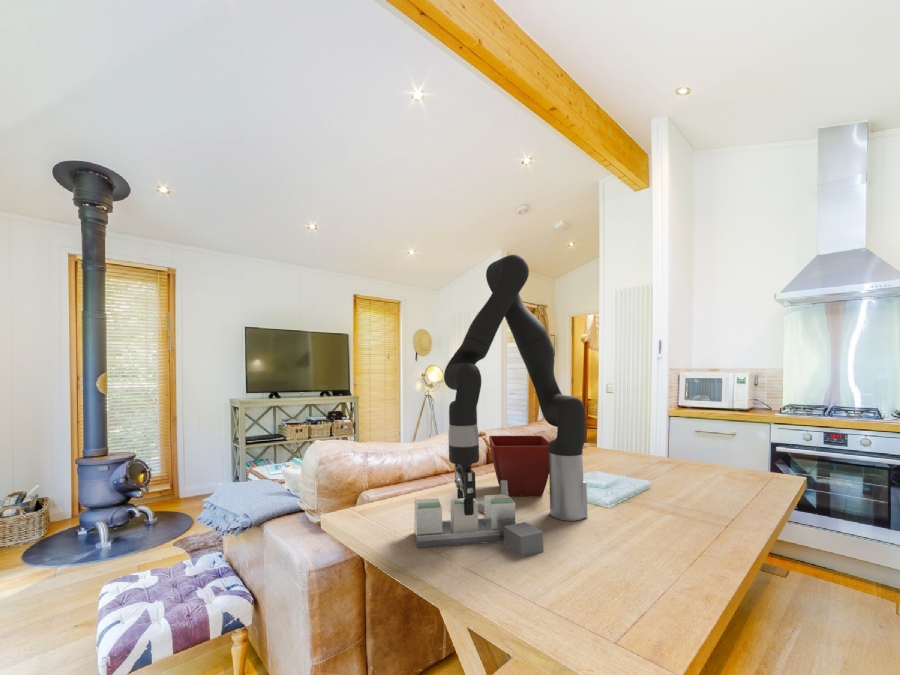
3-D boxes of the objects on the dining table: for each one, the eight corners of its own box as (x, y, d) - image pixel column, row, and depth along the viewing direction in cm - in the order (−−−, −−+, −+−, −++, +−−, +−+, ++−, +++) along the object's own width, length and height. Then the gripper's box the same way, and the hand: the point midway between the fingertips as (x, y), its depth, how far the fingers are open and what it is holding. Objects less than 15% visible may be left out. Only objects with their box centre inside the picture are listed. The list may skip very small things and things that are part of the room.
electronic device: (481, 472, 130) (517, 480, 118) (482, 505, 129) (519, 517, 117) (467, 475, 126) (504, 484, 115) (469, 509, 125) (505, 521, 114)
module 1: (474, 525, 107) (473, 496, 107) (478, 532, 102) (477, 501, 103) (450, 527, 106) (450, 497, 106) (453, 534, 101) (453, 503, 102)
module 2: (525, 541, 101) (524, 521, 102) (543, 552, 95) (542, 532, 95) (503, 545, 99) (503, 526, 99) (521, 558, 92) (520, 536, 93)
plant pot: (555, 500, 131) (554, 445, 132) (494, 500, 131) (493, 445, 132) (543, 483, 150) (541, 435, 151) (489, 483, 150) (488, 435, 151)
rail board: (506, 526, 110) (505, 490, 111) (517, 540, 101) (516, 501, 102) (414, 532, 106) (414, 496, 107) (417, 548, 98) (417, 507, 98)
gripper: (485, 447, 99) (487, 517, 98) (472, 436, 113) (473, 498, 112) (453, 449, 98) (455, 520, 97) (444, 438, 112) (445, 500, 111)
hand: (465, 508), depth 104 cm, fingers open, 8 cm apart
